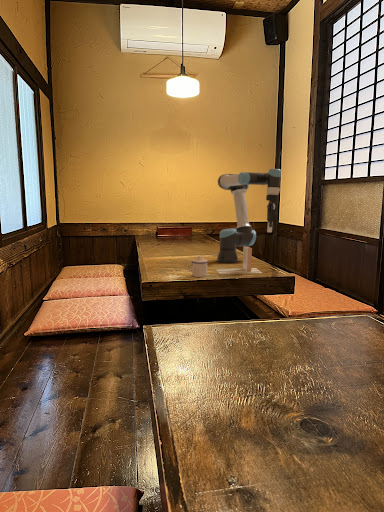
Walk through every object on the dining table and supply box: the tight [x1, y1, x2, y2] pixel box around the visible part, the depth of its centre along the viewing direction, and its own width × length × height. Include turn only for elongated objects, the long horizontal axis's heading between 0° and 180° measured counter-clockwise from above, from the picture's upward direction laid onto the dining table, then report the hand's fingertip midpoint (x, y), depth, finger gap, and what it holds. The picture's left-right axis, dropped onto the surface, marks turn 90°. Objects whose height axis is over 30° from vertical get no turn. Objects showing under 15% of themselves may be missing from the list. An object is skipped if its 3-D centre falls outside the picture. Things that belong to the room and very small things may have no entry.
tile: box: [242, 246, 253, 271], centre depth 225 cm, size 10×3×14 cm, turn 4°
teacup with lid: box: [186, 255, 209, 278], centre depth 214 cm, size 12×9×12 cm
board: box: [216, 267, 263, 275], centre depth 226 cm, size 20×26×1 cm
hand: (269, 232), depth 230 cm, fingers closed
